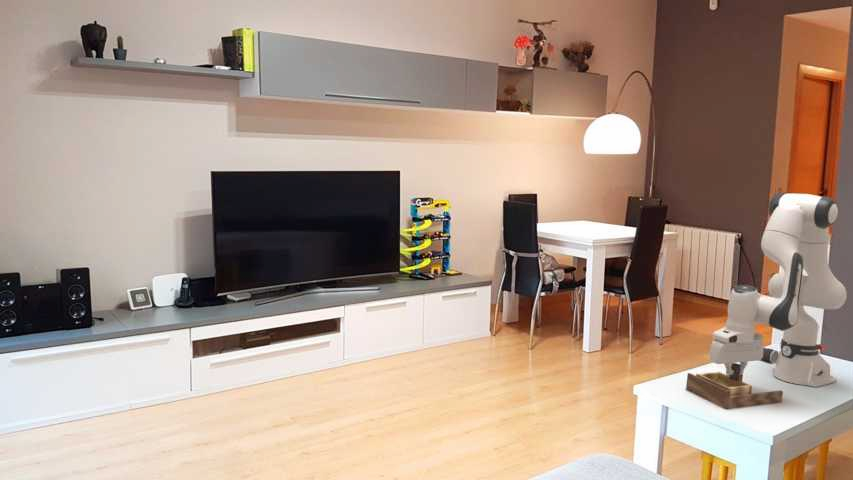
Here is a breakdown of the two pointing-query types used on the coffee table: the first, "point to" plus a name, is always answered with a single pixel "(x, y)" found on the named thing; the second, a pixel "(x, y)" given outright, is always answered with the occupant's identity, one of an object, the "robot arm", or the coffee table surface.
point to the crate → (728, 381)
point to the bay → (723, 395)
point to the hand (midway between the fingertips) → (734, 374)
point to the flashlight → (770, 355)
